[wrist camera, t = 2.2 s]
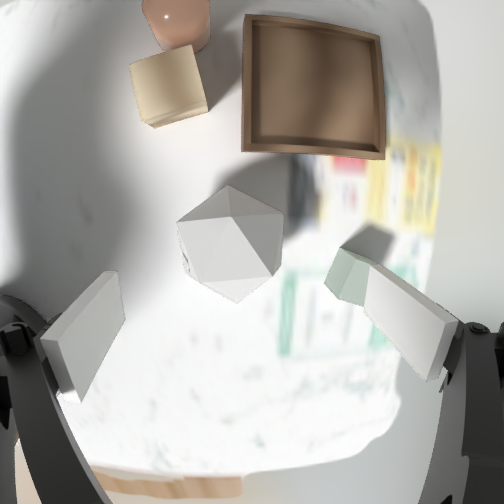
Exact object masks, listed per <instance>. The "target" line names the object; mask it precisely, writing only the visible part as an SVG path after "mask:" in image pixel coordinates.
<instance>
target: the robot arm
mask: <svg viewBox="0 0 504 504" xmlns="http://www.w3.org/2000/svg"><path fill="white" fill-rule="evenodd" d="M363 312H364V313H365V314H366V315H367V316H368V317H369V319H370V320H371V321H372V322H373V323H374V324H375V325H376V326H377V327H378V329H379V330H380V331H381V332H382V333H383V334H384V335H385V337H386V338H387V339H388V340H389V341H390V342H391V343H392V344H393V346H394V347H395V348H396V349H397V350H398V351H399V352H400V354H401V355H402V356H403V357H404V358H405V359H406V360H407V362H408V363H409V364H410V365H411V366H412V368H413V369H414V370H415V371H416V372H417V373H418V375H419V376H420V377H421V378H422V379H423V381H424V382H427V381H430V380H434V379H437V378H439V375H440V373H441V370H442V368H443V366H444V367H445V368H446V369H447V370H448V372H447V374H446V377H445V379H444V382H443V384H442V386H441V388H440V391H439V392H442V390H443V389H444V390H443V399H442V406H441V412H440V419H439V424H438V430H437V435H436V440H435V445H434V449H433V453H432V458H431V462H430V466H429V470H428V474H427V477H426V480H425V484H424V488H423V491H422V494H421V497H420V500H419V503H418V504H504V322H503V323H502V324H501V326H500V329H499V332H498V333H491V332H490V330H489V329H488V328H487V327H486V326H484V325H482V324H479V323H474V322H470V323H466V324H464V323H463V322H461V321H460V320H459V319H457V318H456V317H455V316H454V315H452V314H450V313H449V312H448V311H447V310H444V308H443V307H441V306H440V305H439V304H437V303H435V302H434V301H432V300H431V299H429V298H428V297H427V296H425V295H424V294H423V293H421V292H420V291H418V290H417V289H416V288H414V287H413V286H411V285H410V284H409V283H407V282H406V281H404V280H403V279H402V278H400V277H399V276H397V275H396V274H394V273H393V272H391V271H390V270H389V269H387V268H386V267H384V266H383V265H370V270H369V277H368V284H367V290H366V297H365V303H364V309H363ZM124 321H125V315H124V309H123V303H122V297H121V291H120V285H119V278H118V271H104V272H103V273H102V274H101V275H100V276H99V277H98V278H97V279H96V280H95V281H94V282H93V283H92V284H91V285H90V286H89V287H88V288H87V289H86V290H85V291H84V292H83V293H82V294H81V295H80V296H79V297H78V298H77V299H76V300H75V301H74V302H73V303H72V304H71V305H70V306H69V307H68V308H67V309H66V311H65V312H64V313H60V314H58V315H57V316H55V317H53V318H52V319H51V320H50V321H49V322H48V323H46V322H45V320H44V319H43V318H42V317H41V316H40V315H39V314H38V313H37V312H36V311H34V310H33V309H32V308H31V307H29V306H28V305H27V304H25V303H24V302H22V301H20V300H18V299H16V298H13V297H10V296H0V504H17V497H16V485H15V460H14V446H15V444H16V442H17V440H18V438H20V442H21V446H22V449H23V453H24V456H25V459H26V462H27V465H28V468H29V471H30V474H31V477H32V480H33V482H34V485H35V488H36V490H37V493H38V495H39V498H40V500H41V503H42V504H113V503H112V502H111V500H110V499H109V498H108V496H107V494H106V493H105V491H104V490H103V488H102V486H101V485H100V483H99V482H98V480H97V478H96V477H95V475H94V473H93V472H92V470H91V468H90V466H89V465H88V463H87V461H86V459H85V457H84V455H83V454H82V452H81V450H80V448H79V446H78V444H77V442H76V440H75V438H74V436H73V434H72V432H71V430H70V427H69V425H68V423H67V421H66V419H65V416H64V414H63V412H62V409H61V407H60V405H59V402H58V400H57V398H56V397H57V396H58V395H59V394H60V392H61V393H62V396H63V398H64V400H67V401H72V402H77V403H82V401H83V399H84V397H85V395H86V393H87V390H88V388H89V386H90V384H91V382H92V381H93V379H94V377H95V375H96V373H97V371H98V369H99V367H100V365H101V363H102V361H103V359H104V357H105V355H106V354H107V352H108V350H109V348H110V346H111V344H112V343H113V341H114V339H115V337H116V335H117V333H118V332H119V330H120V328H121V326H122V325H123V323H124Z"/></svg>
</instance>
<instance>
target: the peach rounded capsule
mask: <svg viewBox="0 0 504 504" xmlns="http://www.w3.org/2000/svg"><path fill="white" fill-rule="evenodd" d="M142 10H143V13H144V15H145V17H146V19H147V21H148V23H149V25H150V27H151V29H152V31H153V33H154V35H155V37H156V39H157V41H158V43H159V45H160V47H161V48H162V50H163V51H165V52H167V51H170V50H173V49H177V48H180V47H184V46H187V45H192V48H193V52H194V53H196V52H198V51H200V50H201V49H202V48H203V47H204V46H205V45H206V44H207V43H208V41H209V39H210V35H211V29H210V3H209V0H143V2H142Z"/></svg>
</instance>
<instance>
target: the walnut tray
mask: <svg viewBox="0 0 504 504" xmlns="http://www.w3.org/2000/svg"><path fill="white" fill-rule="evenodd" d="M385 140H386V135H385V95H384V78H383V65H382V55H381V45H380V37H379V36H378V35H375V34H371V33H367V32H363V31H359V30H355V29H351V28H347V27H342V26H337V25H333V24H327V23H322V22H316V21H310V20H303V19H296V18H288V17H278V16H267V15H252V14H245V18H244V23H243V52H242V124H241V152H267V153H294V154H312V155H327V156H339V157H350V158H360V159H370V160H385Z"/></svg>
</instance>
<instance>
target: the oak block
mask: <svg viewBox="0 0 504 504" xmlns="http://www.w3.org/2000/svg"><path fill="white" fill-rule="evenodd" d="M129 67H130V72H131V77H132V82H133V86H134V91H135V95H136V100H137V104H138V108H139V113H140V117H141V121H143V122H145V123H146V124H148V125H150V126H152V127H153V128H158V127H161V126H164V125H167V124H170V123H173V122H176V121H180V120H183V119H186V118H190V117H193V116H196V115H200V114H204V113H207V112H208V107H207V101H206V97H205V93H204V90H203V86H202V82H201V78H200V75H199V71H198V67H197V63H196V60H195V56H194V52H193V48H192V45H187V46H184V47H180V48H177V49H173V50H170V51H167V52H163V53H160V54H157V55H154V56H151V57H148V58H145V59H143V60H140V61H137V62H134V63H132V64H129Z"/></svg>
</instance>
